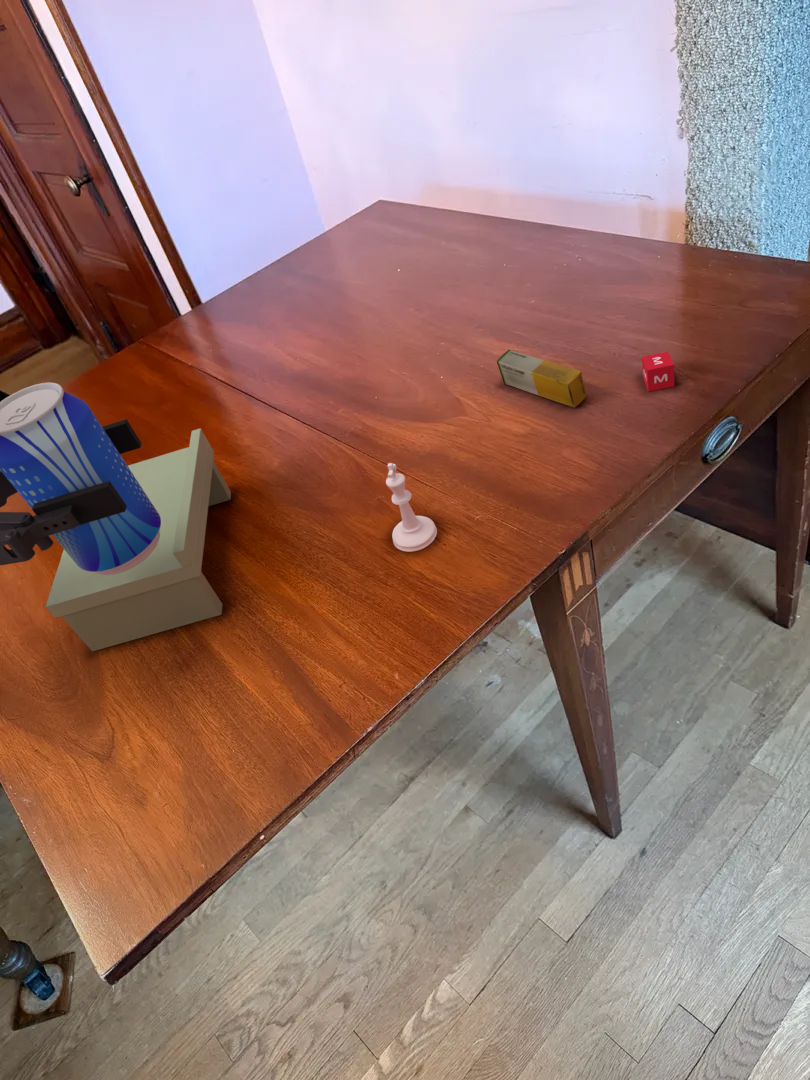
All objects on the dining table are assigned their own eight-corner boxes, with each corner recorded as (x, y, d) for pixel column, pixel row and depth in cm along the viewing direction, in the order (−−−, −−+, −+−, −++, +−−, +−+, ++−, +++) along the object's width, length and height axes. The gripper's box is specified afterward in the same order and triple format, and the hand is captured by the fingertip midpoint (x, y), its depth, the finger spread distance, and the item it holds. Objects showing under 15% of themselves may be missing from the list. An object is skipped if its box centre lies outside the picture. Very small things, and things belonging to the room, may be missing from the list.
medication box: (502, 385, 97) (494, 360, 94) (516, 373, 98) (508, 347, 95) (574, 409, 89) (568, 382, 86) (589, 395, 90) (582, 368, 87)
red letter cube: (674, 386, 88) (674, 364, 86) (648, 391, 88) (647, 370, 86) (668, 373, 90) (667, 351, 88) (642, 378, 90) (641, 356, 88)
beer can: (69, 557, 70) (-42, 420, 60) (143, 505, 73) (50, 366, 63) (104, 596, 65) (-11, 452, 54) (183, 537, 68) (89, 391, 57)
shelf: (87, 654, 81) (33, 594, 74) (119, 524, 97) (77, 465, 91) (226, 614, 80) (183, 549, 73) (234, 490, 96) (200, 427, 89)
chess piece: (388, 552, 80) (360, 482, 73) (398, 520, 83) (373, 450, 77) (432, 551, 78) (407, 479, 72) (440, 518, 82) (418, 447, 75)
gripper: (-49, 494, 75) (161, 430, 73) (-135, 657, 60) (130, 580, 58) (-101, 435, 70) (122, 364, 68) (-210, 595, 55) (76, 509, 53)
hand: (125, 463), depth 63 cm, fingers closed on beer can, 8 cm apart
